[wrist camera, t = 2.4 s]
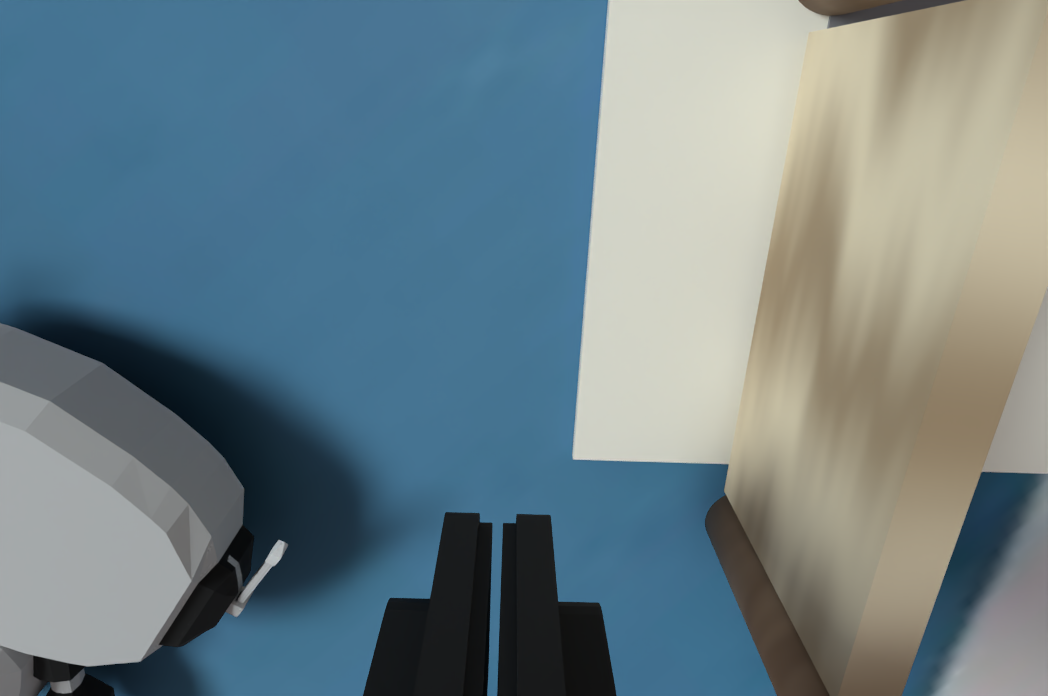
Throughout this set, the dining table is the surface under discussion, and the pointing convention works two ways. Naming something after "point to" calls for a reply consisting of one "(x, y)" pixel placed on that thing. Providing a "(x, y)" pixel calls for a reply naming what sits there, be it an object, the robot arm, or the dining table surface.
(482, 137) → the dining table surface
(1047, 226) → the fence swing section
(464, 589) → the robot arm
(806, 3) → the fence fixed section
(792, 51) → the card
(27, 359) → the robot toy
